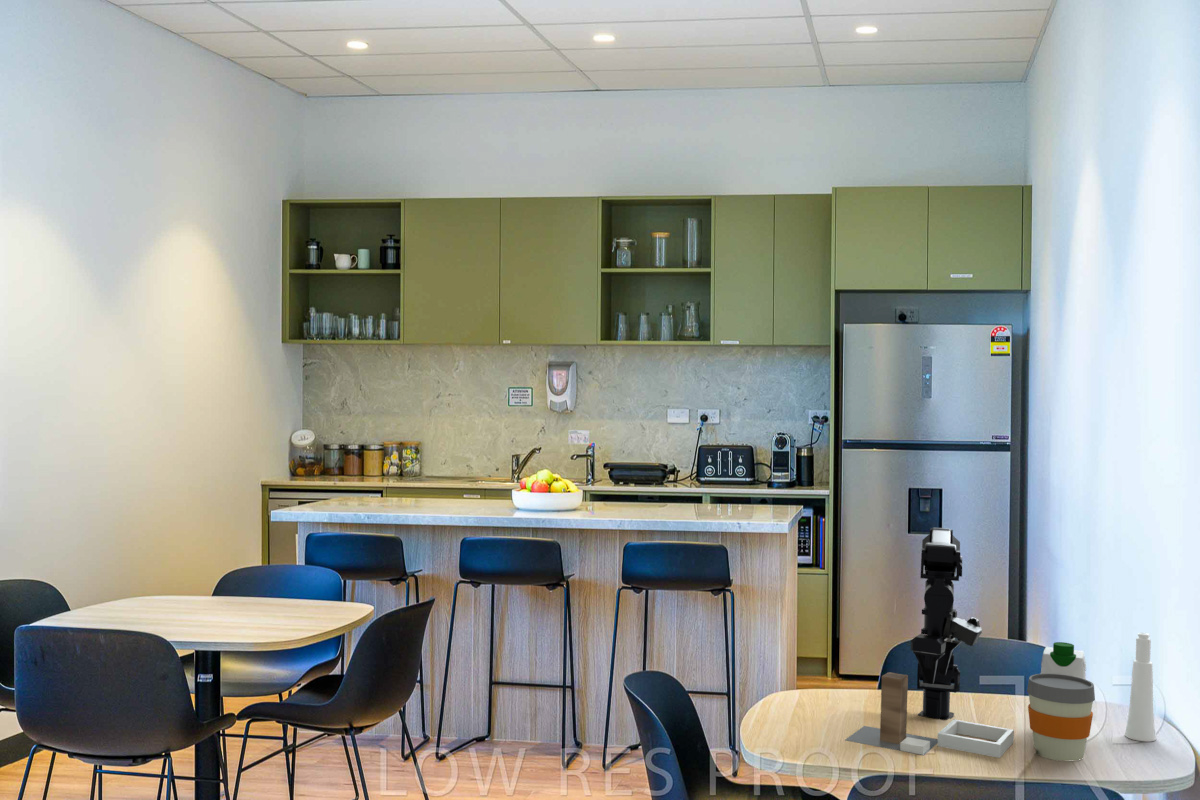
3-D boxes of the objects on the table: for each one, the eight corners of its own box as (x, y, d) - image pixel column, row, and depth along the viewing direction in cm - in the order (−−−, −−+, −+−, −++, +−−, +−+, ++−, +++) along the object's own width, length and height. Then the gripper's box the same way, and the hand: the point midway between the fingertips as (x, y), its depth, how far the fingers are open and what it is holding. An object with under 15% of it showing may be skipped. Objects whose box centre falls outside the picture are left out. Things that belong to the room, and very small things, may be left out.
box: (953, 738, 238) (953, 719, 238) (1013, 749, 231) (1013, 729, 231) (937, 753, 227) (937, 733, 227) (999, 765, 221) (1000, 744, 221)
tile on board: (907, 744, 228) (907, 736, 228) (929, 748, 226) (929, 741, 226) (900, 750, 224) (900, 742, 224) (923, 754, 222) (923, 747, 222)
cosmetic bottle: (1135, 731, 246) (1138, 629, 246) (1162, 739, 241) (1165, 635, 241) (1118, 735, 243) (1122, 632, 242) (1145, 743, 238) (1149, 638, 237)
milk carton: (1037, 739, 238) (1040, 644, 238) (1040, 728, 247) (1043, 635, 246) (1083, 746, 235) (1086, 649, 234) (1084, 734, 243) (1087, 640, 243)
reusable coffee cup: (1097, 753, 230) (1099, 679, 230) (1088, 771, 219) (1090, 693, 219) (1031, 742, 236) (1033, 670, 236) (1019, 758, 225) (1022, 683, 225)
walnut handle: (886, 735, 233) (888, 672, 233) (906, 739, 231) (907, 675, 231) (879, 740, 230) (881, 675, 230) (899, 744, 228) (901, 679, 228)
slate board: (864, 732, 240) (864, 725, 240) (940, 747, 232) (941, 739, 232) (844, 747, 230) (844, 739, 230) (923, 763, 221) (924, 755, 221)
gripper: (966, 616, 226) (964, 695, 226) (989, 602, 242) (987, 676, 242) (910, 609, 232) (908, 686, 232) (936, 596, 248) (934, 668, 248)
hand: (936, 679), depth 238 cm, fingers open, 9 cm apart
